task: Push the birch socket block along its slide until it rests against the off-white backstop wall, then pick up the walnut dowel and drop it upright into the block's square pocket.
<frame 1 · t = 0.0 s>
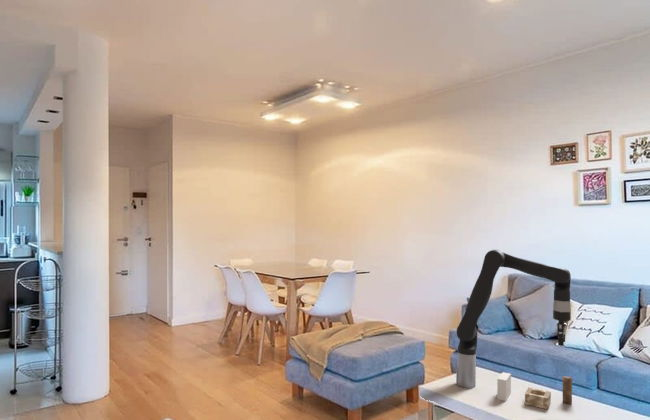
hand: (561, 343, 214), 29 cm above the table, fingers open, 8 cm apart
dowel: (567, 402, 216), on the table
backstop wall: (504, 396, 222), on the table
socket block: (537, 397, 214), point 3 cm above the table, slide at 8.0 cm
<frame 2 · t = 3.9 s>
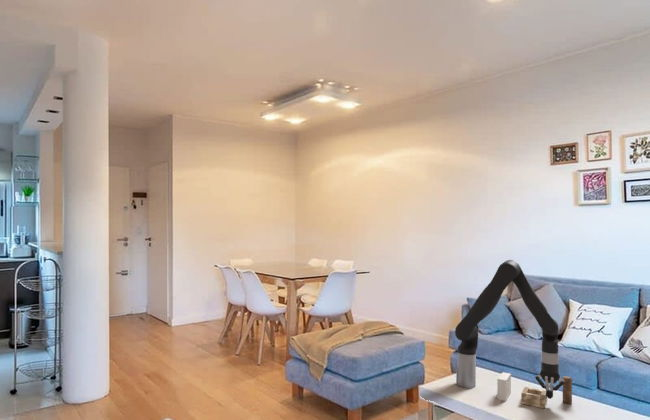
hand: (549, 398, 212), 4 cm above the table, fingers closed
socket block: (534, 397, 215), point 3 cm above the table, slide at 6.5 cm, touching gripper
everything else where it was.
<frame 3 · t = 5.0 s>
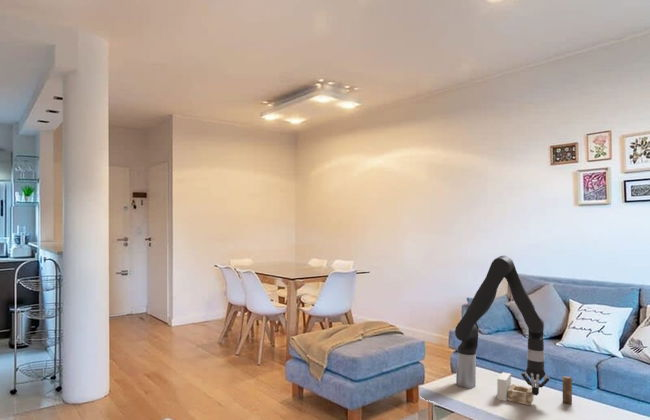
hand: (535, 394, 215), 4 cm above the table, fingers closed
socket block: (520, 394, 218), point 3 cm above the table, slide at 0.4 cm, touching gripper
everything else where it was.
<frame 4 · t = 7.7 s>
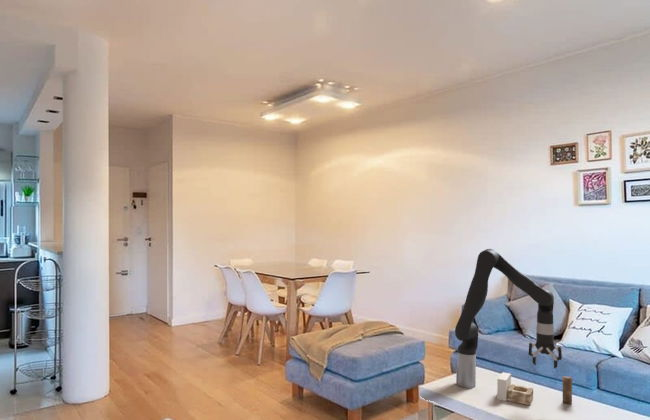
hand: (544, 366, 213), 18 cm above the table, fingers open, 8 cm apart
socket block: (520, 394, 218), point 3 cm above the table, slide at 0.3 cm
everything else where it was.
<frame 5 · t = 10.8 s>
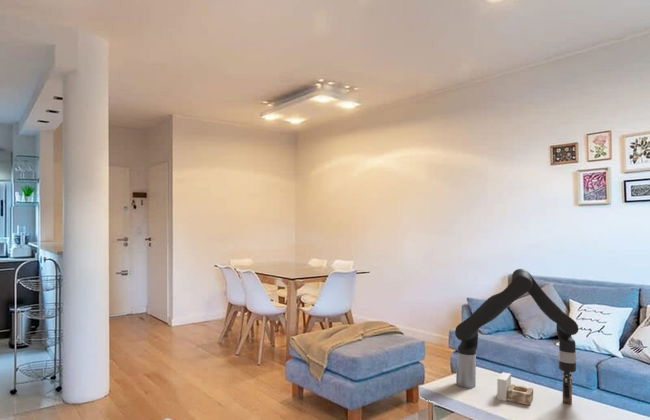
hand: (567, 395, 216), 3 cm above the table, fingers closed on dowel, 4 cm apart
dowel: (567, 402, 216), on the table, touching gripper
everything else where it was.
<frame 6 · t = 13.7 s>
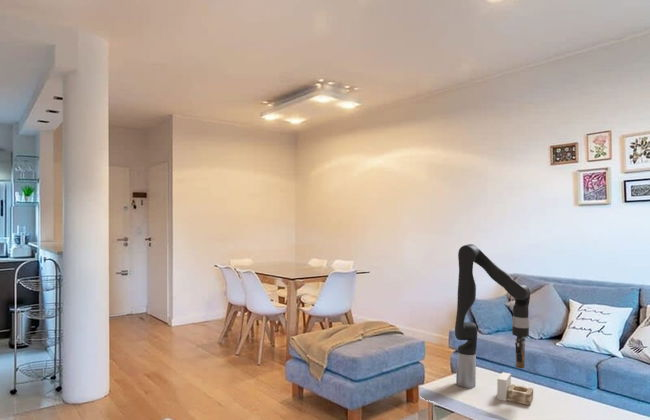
hand: (520, 360, 219), 19 cm above the table, fingers closed on dowel, 4 cm apart
dowel: (520, 367, 219), point 16 cm above the table, touching gripper
everything else where it was.
when the fingers open (6 cm above the table, at t = 17.1 s): dowel drops 2 cm, resting on socket block.
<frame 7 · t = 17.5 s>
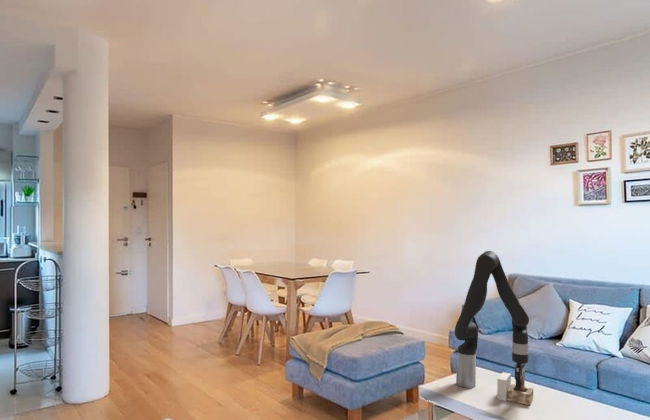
hand: (519, 385, 219), 7 cm above the table, fingers open, 7 cm apart
dowel: (519, 397, 218), point 1 cm above the table, touching socket block
socket block: (520, 394, 218), point 3 cm above the table, slide at 0.3 cm, touching dowel
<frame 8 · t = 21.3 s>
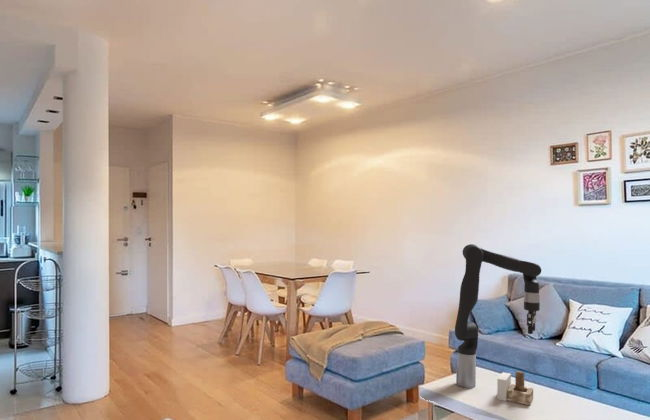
hand: (531, 332, 232), 30 cm above the table, fingers open, 8 cm apart
nothing on the table moved.
at the end: socket block slide at 0.3 cm; dowel 0.2 cm from the target spot, point 1.2 cm above the table; dowel tilted 1° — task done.
